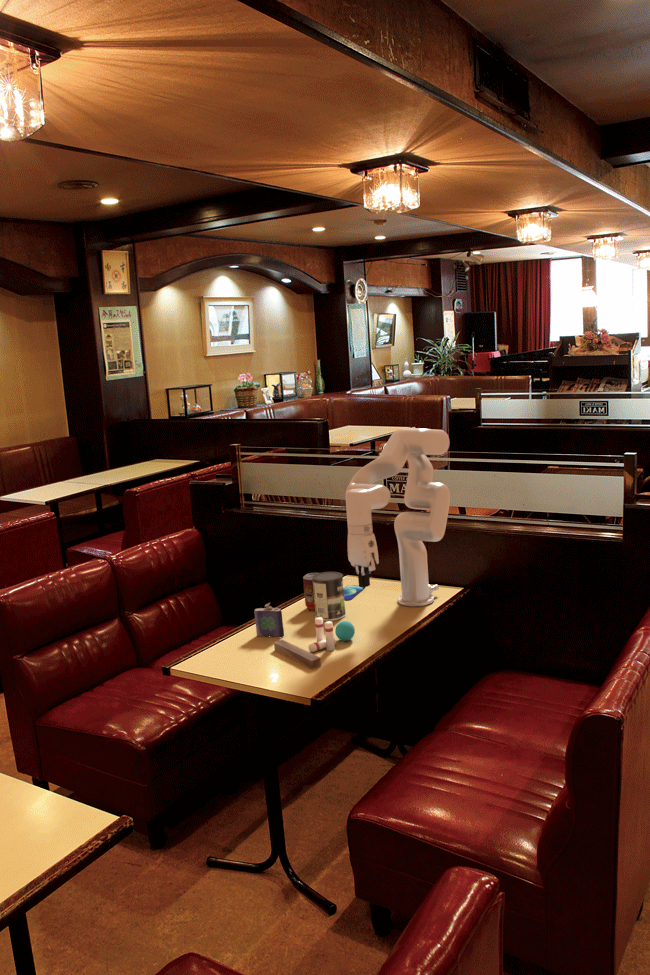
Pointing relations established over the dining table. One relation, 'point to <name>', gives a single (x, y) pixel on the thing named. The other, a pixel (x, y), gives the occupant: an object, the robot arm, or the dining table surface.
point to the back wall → (297, 654)
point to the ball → (344, 630)
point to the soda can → (309, 591)
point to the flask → (269, 622)
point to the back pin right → (319, 629)
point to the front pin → (318, 645)
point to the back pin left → (329, 636)
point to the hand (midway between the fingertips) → (364, 586)
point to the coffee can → (329, 595)
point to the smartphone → (352, 591)
